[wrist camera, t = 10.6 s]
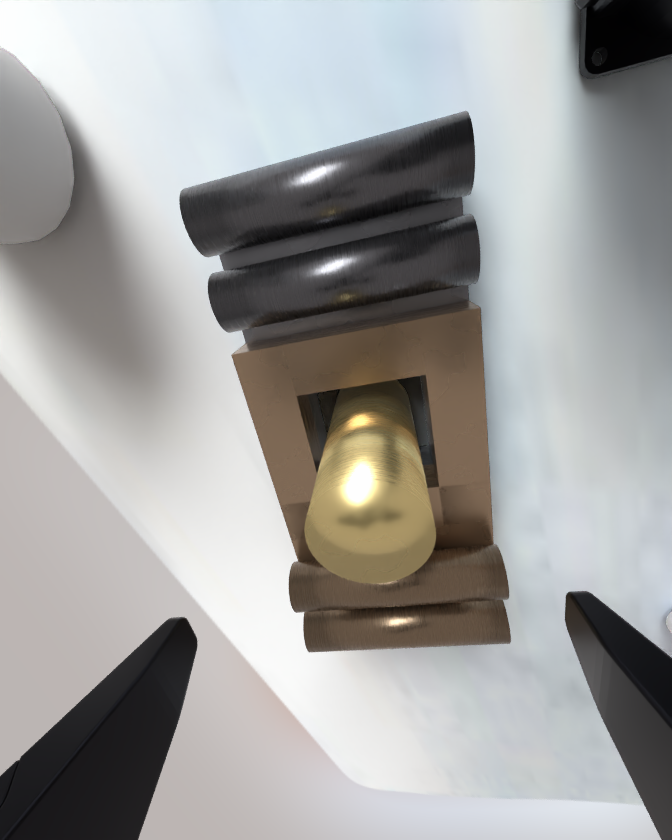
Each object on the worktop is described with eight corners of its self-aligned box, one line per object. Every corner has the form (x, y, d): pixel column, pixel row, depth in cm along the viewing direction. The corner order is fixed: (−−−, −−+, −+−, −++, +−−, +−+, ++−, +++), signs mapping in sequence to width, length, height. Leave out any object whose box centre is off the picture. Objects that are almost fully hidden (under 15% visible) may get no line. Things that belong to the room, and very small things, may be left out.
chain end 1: (447, 136, 15) (472, 100, 11) (473, 474, 22) (494, 526, 18) (218, 197, 17) (171, 184, 13) (304, 494, 24) (289, 545, 20)
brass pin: (404, 366, 20) (428, 472, 11) (414, 435, 21) (442, 578, 12) (328, 379, 20) (290, 489, 11) (343, 444, 22) (320, 587, 13)
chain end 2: (459, 294, 18) (498, 319, 12) (479, 556, 24) (511, 654, 19) (258, 333, 20) (208, 372, 14) (326, 569, 26) (311, 662, 20)
